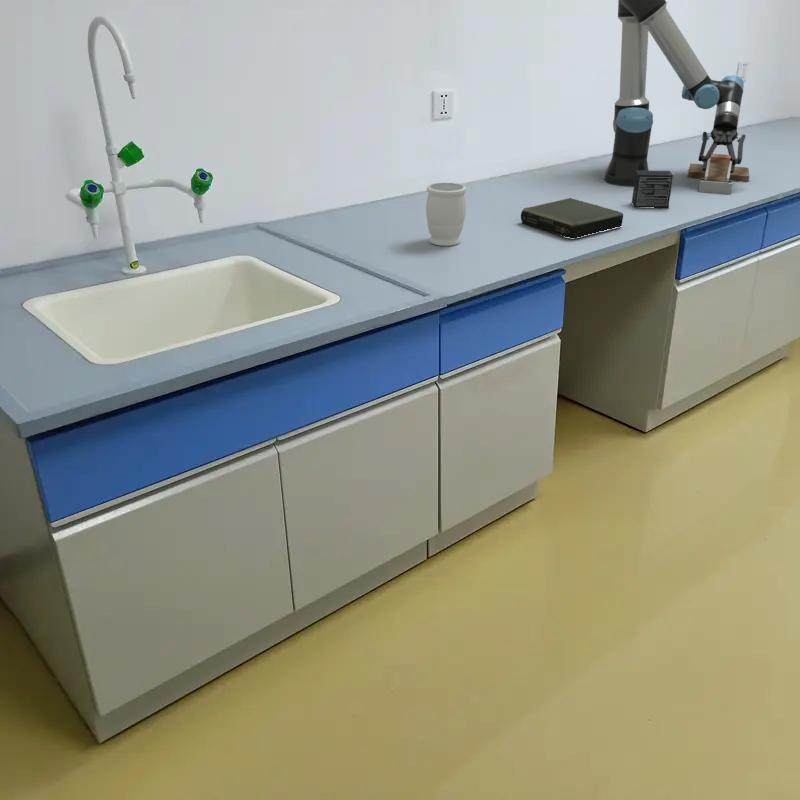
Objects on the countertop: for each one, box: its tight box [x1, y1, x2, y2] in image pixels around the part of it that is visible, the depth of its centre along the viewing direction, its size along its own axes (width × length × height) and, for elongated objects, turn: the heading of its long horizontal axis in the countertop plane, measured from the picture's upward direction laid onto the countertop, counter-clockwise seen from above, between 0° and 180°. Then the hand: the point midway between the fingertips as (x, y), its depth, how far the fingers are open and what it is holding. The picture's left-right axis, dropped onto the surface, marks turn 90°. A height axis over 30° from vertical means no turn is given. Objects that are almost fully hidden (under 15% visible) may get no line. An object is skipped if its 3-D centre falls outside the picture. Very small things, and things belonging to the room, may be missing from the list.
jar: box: [425, 182, 468, 247], centre depth 217 cm, size 11×10×15 cm
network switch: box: [520, 197, 624, 238], centre depth 234 cm, size 23×23×5 cm
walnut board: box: [687, 163, 750, 183], centre depth 289 cm, size 20×14×2 cm
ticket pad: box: [707, 153, 731, 182], centre depth 269 cm, size 6×5×11 cm
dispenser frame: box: [698, 178, 733, 195], centre depth 271 cm, size 10×9×4 cm
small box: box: [631, 170, 674, 209], centre depth 251 cm, size 11×6×10 cm, turn 84°
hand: (716, 179), depth 266 cm, fingers closed on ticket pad, 6 cm apart
